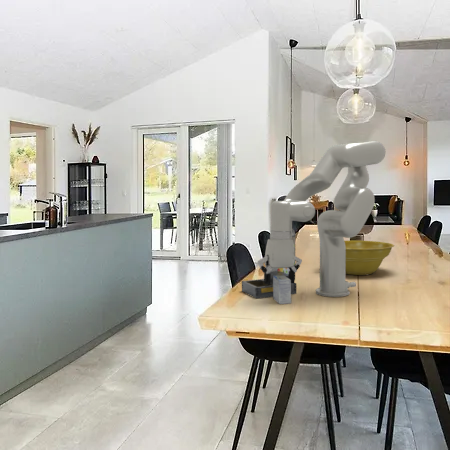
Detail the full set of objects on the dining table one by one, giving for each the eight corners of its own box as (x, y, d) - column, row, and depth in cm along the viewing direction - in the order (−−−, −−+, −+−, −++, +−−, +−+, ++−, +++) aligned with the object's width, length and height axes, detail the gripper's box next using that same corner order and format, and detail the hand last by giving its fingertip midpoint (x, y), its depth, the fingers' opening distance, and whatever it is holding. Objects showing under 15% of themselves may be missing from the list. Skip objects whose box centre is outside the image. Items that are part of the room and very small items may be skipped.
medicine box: (291, 303, 165) (291, 279, 164) (278, 304, 164) (278, 280, 163) (284, 298, 172) (284, 275, 171) (272, 299, 172) (272, 275, 171)
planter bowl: (321, 265, 237) (321, 239, 236) (388, 267, 230) (389, 240, 229) (321, 278, 206) (321, 248, 204) (399, 280, 199) (399, 249, 198)
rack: (279, 286, 191) (279, 269, 190) (296, 293, 179) (296, 275, 178) (241, 291, 184) (241, 273, 184) (256, 298, 172) (256, 280, 172)
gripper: (296, 234, 172) (295, 280, 174) (254, 235, 166) (253, 283, 167) (307, 236, 166) (306, 284, 167) (263, 237, 159) (262, 287, 160)
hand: (279, 283), depth 167 cm, fingers open, 9 cm apart
